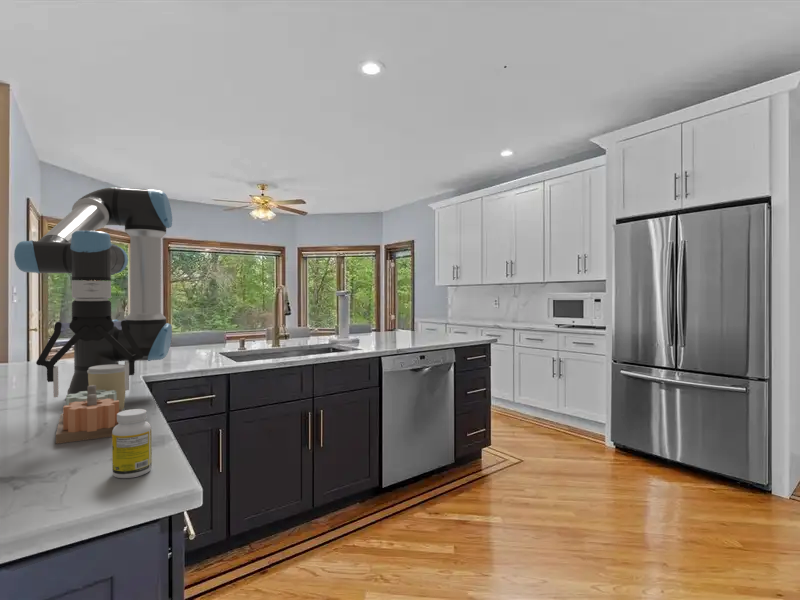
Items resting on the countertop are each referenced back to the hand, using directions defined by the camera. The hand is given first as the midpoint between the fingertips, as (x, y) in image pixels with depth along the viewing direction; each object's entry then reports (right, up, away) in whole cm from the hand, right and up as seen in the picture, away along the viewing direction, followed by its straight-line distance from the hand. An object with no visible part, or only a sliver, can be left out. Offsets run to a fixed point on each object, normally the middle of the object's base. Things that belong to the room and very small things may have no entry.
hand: (92, 392), depth 109 cm
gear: (-6, -7, +10) cm, 14 cm away
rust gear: (0, -7, 0) cm, 7 cm away
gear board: (-3, -9, +5) cm, 11 cm away
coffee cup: (-10, -9, +21) cm, 25 cm away
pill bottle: (+22, -10, -23) cm, 33 cm away
